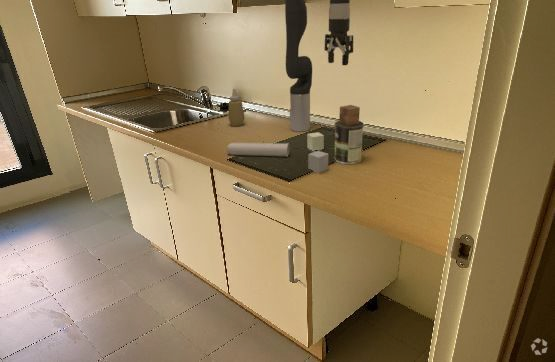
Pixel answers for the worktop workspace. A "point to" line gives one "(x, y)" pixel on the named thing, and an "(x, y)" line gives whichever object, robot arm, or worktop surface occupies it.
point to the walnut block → (349, 115)
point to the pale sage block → (315, 141)
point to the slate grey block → (318, 161)
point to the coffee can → (348, 143)
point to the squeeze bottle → (236, 110)
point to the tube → (258, 149)
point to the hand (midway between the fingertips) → (337, 64)
